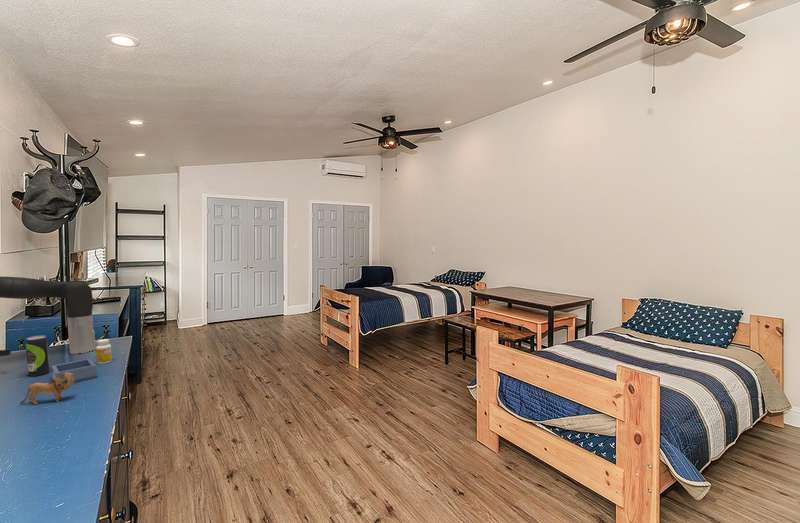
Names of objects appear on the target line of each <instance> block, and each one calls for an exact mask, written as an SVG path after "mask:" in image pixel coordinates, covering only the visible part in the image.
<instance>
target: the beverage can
mask: <svg viewBox="0 0 800 523" xmlns="http://www.w3.org/2000/svg"><path fill="white" fill-rule="evenodd" d="M48 347H49V346H48V338H47V335H34V336H33V335H32V336H30V337H27V338H26V341H25V349H26V361H27V372H28V373H27V374H28V375H29V376H30V377H38V376H43V375H46V374H48V373H49V371H50V360H49V348H48Z"/></svg>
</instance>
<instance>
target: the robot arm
mask: <svg viewBox="0 0 800 523" xmlns="http://www.w3.org/2000/svg"><path fill="white" fill-rule="evenodd" d="M0 298H2V299H15V300H16V299H18V300H19V299H20V300H23V299H24V300H27V299H40V298H54V299H55V298H56V299H64V300H66V304H67V305H66V306H67V310H66V318H67V319H66V321H67V322H66V323H67V331H68V332H67V334H68V347H69V354H71V355H79V353H81V354H86V353H89V351H90V352H93V351H96V347H97V346H96V336H95V335H96V334H95V330H94V321H93V310H94V307H93V306H94V305H93V304H94V303H93V302H94V301H93V300H94V299H93V291H92V287H91V286H90V285H89V284H87V283H85V282H83V281H78V280H77V281H54V280H53V281H52V280H44V279H38V278H30V277H19V276H2V275H1V276H0ZM92 350H93V351H92ZM11 353H12V352H11V350H10V349H0V357H4V356H5V357H6V356H10V355H12V354H11Z"/></svg>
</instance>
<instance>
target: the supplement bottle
mask: <svg viewBox="0 0 800 523" xmlns="http://www.w3.org/2000/svg"><path fill="white" fill-rule="evenodd" d="M95 347H96V350H95V354H96V355H95V356H96V363H97V364H99V365H102V364H104V363H105V364H108V363H111V362H112V361H113V354H112V352H113V351H112V345H111V343H110V339H108V338H104V339H103V338H101V339H100V340H99V339H98V340H97V346H95ZM105 364H104V365H105Z"/></svg>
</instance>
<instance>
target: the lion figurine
mask: <svg viewBox="0 0 800 523" xmlns="http://www.w3.org/2000/svg"><path fill="white" fill-rule="evenodd" d="M74 384H75V383H74V376H73V374H71V373H69V372H68V373H64V374H62V375H61V376H59V377H58V378H56V379H54V380H53V379H52V380H50V382H46V383H45V382H44V383H43V382H34V383H32V384H30V385H29V386H28V388H27V390H26V394H25V397H24V398H23V400H21V402H19V405H22V404H24V403H25V402H26V400H27V399H28V402H30V403H32V404H33V405H34V404H37V405H38V403H39V401H36V398H37V394H38V393H41V394H44V395H50V394H53V395H54V397H55V401H59V400H61V399H60V398H62V397H63V396H61V394H62V392H66V391H67V390H68V389H69V388H70V387H71V386H73V385H74ZM62 399H63V398H62Z"/></svg>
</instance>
